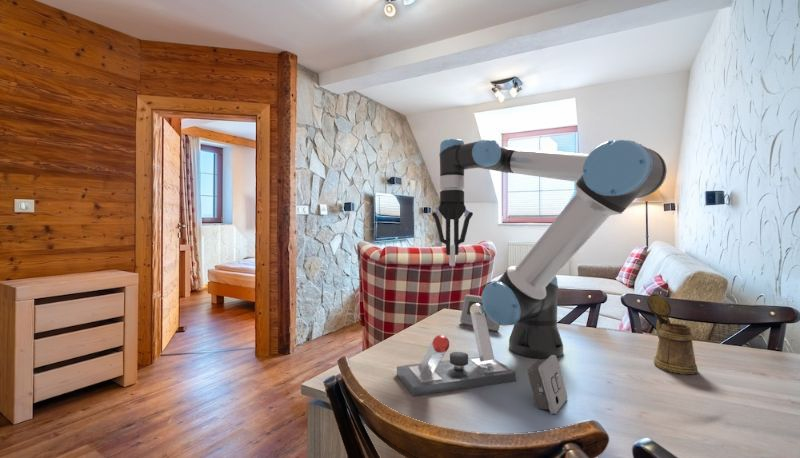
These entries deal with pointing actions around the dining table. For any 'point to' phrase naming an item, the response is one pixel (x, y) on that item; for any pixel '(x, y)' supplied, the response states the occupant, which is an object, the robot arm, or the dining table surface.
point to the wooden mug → (672, 340)
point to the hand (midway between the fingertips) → (452, 265)
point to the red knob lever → (434, 355)
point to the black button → (459, 358)
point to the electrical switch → (547, 384)
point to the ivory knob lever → (481, 333)
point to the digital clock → (466, 313)
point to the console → (454, 376)
